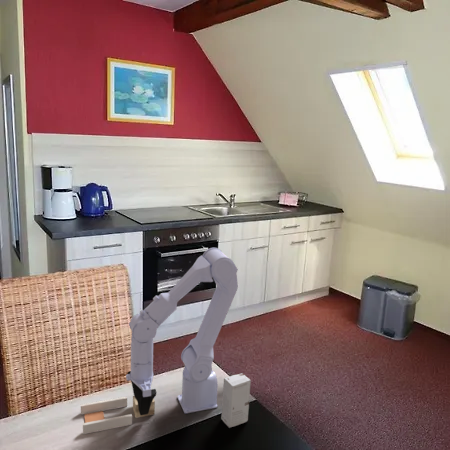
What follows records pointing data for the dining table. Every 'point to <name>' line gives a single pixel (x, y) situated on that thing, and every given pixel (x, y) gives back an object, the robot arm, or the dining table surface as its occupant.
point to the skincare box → (235, 400)
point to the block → (136, 409)
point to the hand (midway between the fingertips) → (141, 405)
